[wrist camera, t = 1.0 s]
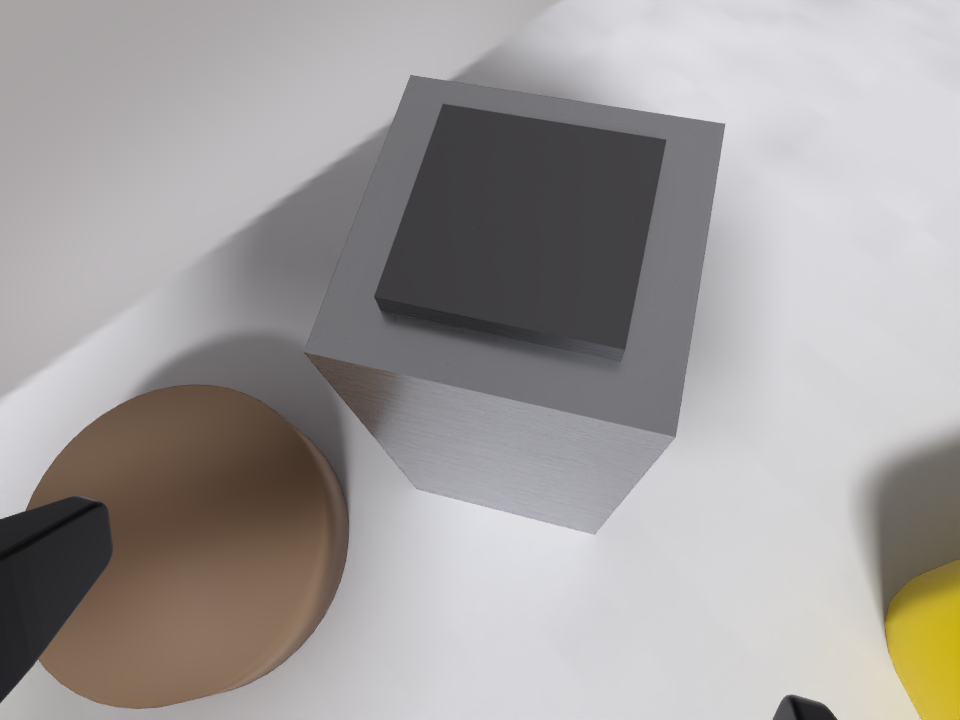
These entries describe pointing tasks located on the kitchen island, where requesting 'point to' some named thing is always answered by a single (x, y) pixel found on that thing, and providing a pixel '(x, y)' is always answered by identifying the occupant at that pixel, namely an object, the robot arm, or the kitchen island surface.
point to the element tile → (928, 641)
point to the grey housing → (522, 296)
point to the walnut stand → (196, 546)
